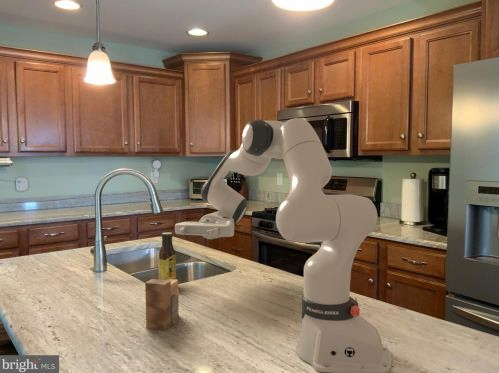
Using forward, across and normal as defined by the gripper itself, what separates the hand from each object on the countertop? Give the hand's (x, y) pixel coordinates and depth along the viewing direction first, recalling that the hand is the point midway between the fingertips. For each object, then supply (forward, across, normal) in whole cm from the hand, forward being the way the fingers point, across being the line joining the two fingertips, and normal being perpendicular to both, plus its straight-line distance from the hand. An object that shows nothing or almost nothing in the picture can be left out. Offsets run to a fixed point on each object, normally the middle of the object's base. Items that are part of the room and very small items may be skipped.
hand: (195, 232), depth 129 cm
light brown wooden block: (+13, -3, +24) cm, 27 cm away
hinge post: (+18, -3, +24) cm, 30 cm away
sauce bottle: (-14, -18, +23) cm, 32 cm away
